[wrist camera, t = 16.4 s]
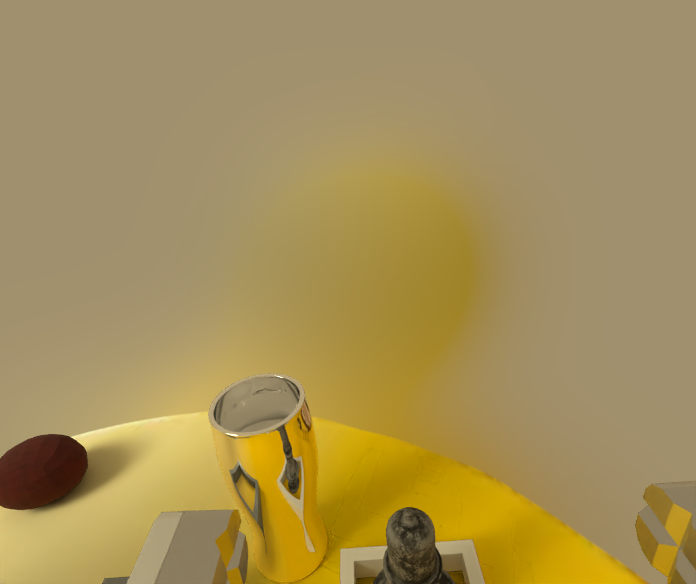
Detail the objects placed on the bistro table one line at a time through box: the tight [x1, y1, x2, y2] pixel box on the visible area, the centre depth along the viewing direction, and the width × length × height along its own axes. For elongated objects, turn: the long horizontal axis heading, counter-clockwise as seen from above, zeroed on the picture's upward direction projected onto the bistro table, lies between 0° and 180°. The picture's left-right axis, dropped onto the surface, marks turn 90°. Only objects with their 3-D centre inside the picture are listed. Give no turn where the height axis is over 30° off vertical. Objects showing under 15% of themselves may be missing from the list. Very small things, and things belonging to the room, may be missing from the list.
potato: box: [0, 434, 88, 510], centre depth 43 cm, size 7×8×6 cm
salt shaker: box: [373, 507, 455, 584], centre depth 27 cm, size 6×6×12 cm
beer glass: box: [209, 373, 328, 583], centre depth 33 cm, size 7×7×15 cm
